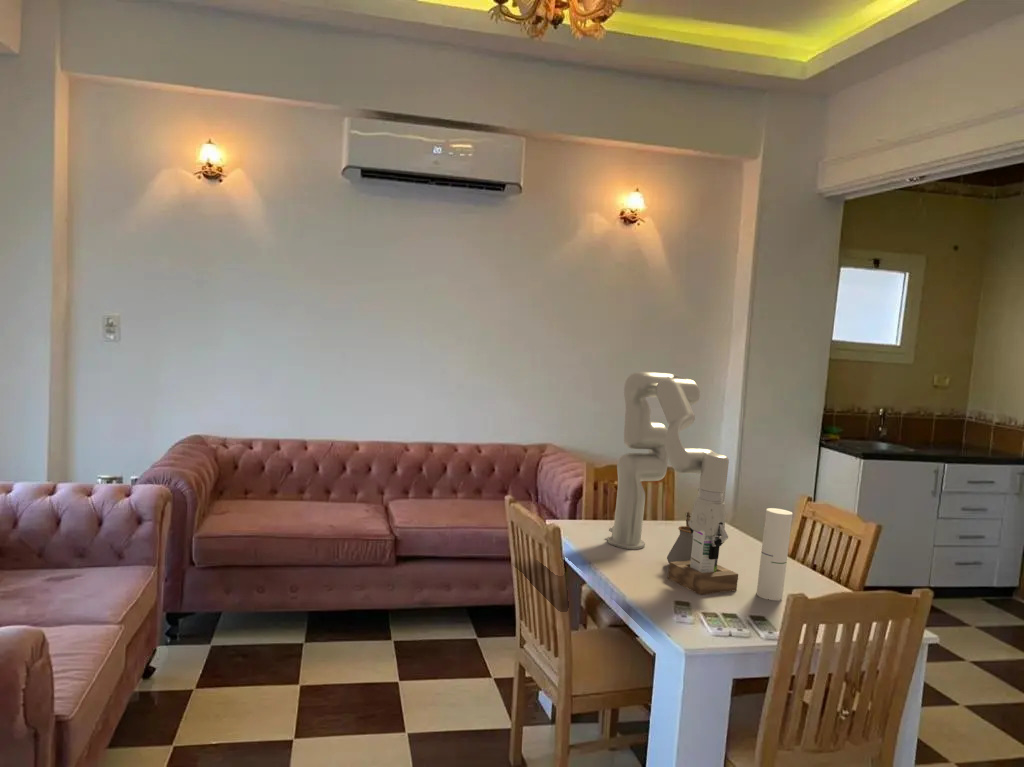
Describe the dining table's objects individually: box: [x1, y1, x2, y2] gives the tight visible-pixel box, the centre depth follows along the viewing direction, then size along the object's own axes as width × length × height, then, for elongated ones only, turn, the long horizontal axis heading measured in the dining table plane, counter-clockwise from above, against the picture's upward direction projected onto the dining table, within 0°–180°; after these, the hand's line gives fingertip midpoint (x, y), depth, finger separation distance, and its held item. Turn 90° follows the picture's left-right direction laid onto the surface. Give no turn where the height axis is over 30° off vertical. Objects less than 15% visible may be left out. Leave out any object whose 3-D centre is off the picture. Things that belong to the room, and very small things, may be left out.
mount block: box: [667, 560, 739, 596], centre depth 224 cm, size 14×14×5 cm
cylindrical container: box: [756, 507, 794, 601], centre depth 218 cm, size 7×7×25 cm
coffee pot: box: [666, 511, 693, 565], centre depth 242 cm, size 21×12×15 cm, turn 168°
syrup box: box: [690, 530, 720, 573], centre depth 224 cm, size 6×6×14 cm
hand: (704, 554), depth 224 cm, fingers open, 6 cm apart
